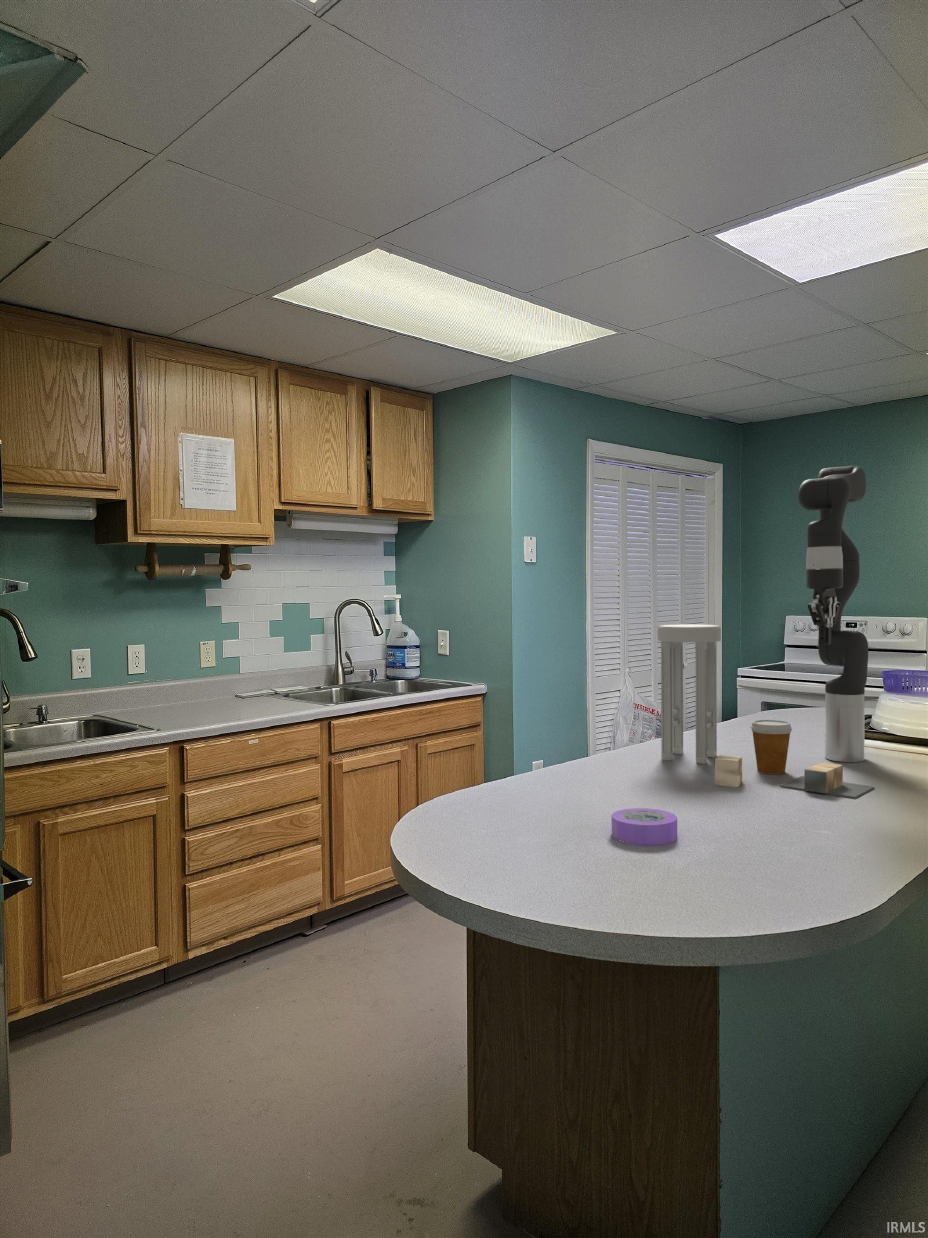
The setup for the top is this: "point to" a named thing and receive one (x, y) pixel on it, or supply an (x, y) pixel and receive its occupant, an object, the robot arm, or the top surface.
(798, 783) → the mat
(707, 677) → the stool
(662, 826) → the masking tape
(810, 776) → the oak block
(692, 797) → the top surface
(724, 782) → the maple block
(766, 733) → the disposable coffee cup
